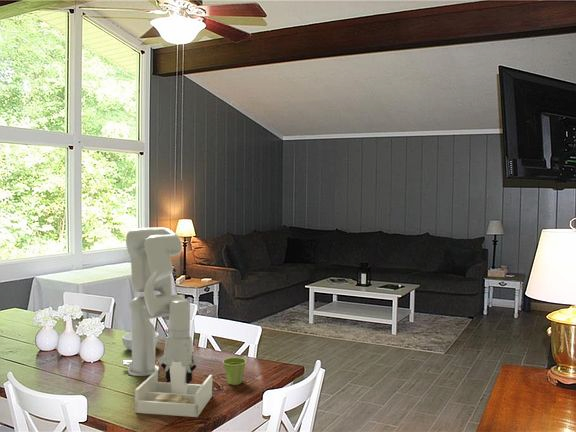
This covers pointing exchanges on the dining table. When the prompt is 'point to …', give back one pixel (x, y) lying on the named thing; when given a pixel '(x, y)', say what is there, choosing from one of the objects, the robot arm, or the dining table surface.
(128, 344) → the cereal bowl
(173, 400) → the offcut stack
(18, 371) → the dining table surface
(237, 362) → the plant pot
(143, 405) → the tray
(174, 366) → the drinking glass
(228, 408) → the dining table surface
